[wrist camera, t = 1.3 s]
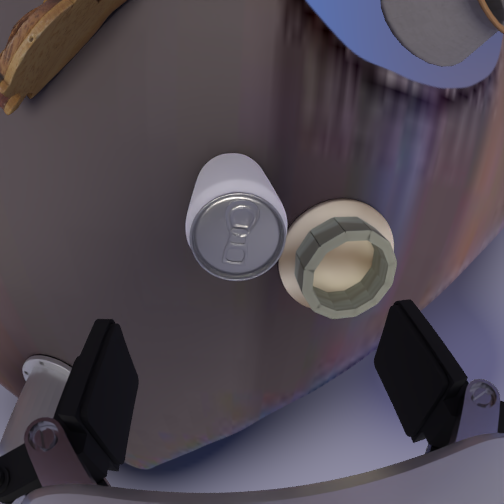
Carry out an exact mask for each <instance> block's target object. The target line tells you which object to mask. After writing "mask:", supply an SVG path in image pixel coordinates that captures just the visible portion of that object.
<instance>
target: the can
mask: <svg viewBox="0 0 504 504" xmlns="http://www.w3.org/2000/svg"><path fill="white" fill-rule="evenodd" d="M185 227H186V237H187V241H188V244H189V246H190V248H191V250H192V253H193V255H194V257H195V259H196V261H197V262H198V263H199V265H200V266H201V267H202V268H203V269H204V270H206V271H207V272H208V273H210V274H212V275H214V276H216V277H218V278H221V279H224V280H230V281H243V280H249V279H252V278H255V277H258V276H260V275H262V274H264V273H265V272H267V271H268V270H269V269H270V268H272V267H273V266H274V265H275V263H276V262H277V261H278V259H279V258H280V256H281V254H282V252H283V250H284V247H285V242H286V235H287V217H286V213H285V209H284V207H283V205H282V203H281V201H280V199H279V197H278V195H277V193H276V192H275V190H274V188H273V187H272V185H271V183H270V182H269V180H268V178H267V177H266V175H265V173H264V172H263V170H262V169H261V167H260V166H259V165H258V164H257V163H256V162H255V161H254V160H253V159H251V158H250V157H248V156H246V155H243V154H239V153H226V154H221V155H218V156H216V157H214V158H212V159H211V160H210V161H208V162H207V163H206V164H205V165H204V167H203V168H202V169H201V171H200V173H199V175H198V178H197V181H196V184H195V187H194V190H193V194H192V197H191V201H190V204H189V208H188V212H187V217H186V225H185Z"/></svg>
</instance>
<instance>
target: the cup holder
mask: <svg viewBox="0 0 504 504" xmlns="http://www.w3.org/2000/svg"><path fill="white" fill-rule="evenodd" d="M393 251H394V242H393V236H392V232H391V229H390V227H389V225H388V223H387V222H386V220H385V219H384V218H383V216H382V215H381V214H380V213H379V212H377V211H376V210H375V209H374V208H372V207H371V206H369V205H368V204H366V203H364V202H361V201H358V200H354V199H346V198H341V199H332V200H328V201H325V202H322V203H319V204H317V205H315V206H313V207H311V208H310V209H308V210H307V211H305V212H304V213H303V214H301V215H300V216H299V217H298V218H297V219H296V220H295V221H294V222H293V223H292V225H291V226H290V227H289V229H288V230H287V235H286V242H285V247H284V250H283V252H282V254H281V256H280V258H279V259H278V268H279V273H280V276H281V279H282V282H283V285H284V287H285V288H286V290H287V292H288V293H289V294H290V295H291V296H292V297H293V298H294V299H295V300H296V301H297V302H299V303H300V304H302V305H304V306H306V307H309V308H311V309H312V310H313V311H314V312H316V313H319V314H321V315H324V316H326V317H329V318H331V319H338V318H347V317H355V316H357V315H359V314H361V313H363V312H364V311H366V310H368V309H370V308H371V307H373V306H375V305H376V303H377V304H378V302H379V301H380V300H381V299H382V297H383V296H384V295H385V293H386V292H387V291H388V290H389V288H390V287H391V286H392V285H391V284H392V283H393V279H394V275H395V270H396V266H397V260H396V257H395V254H394V252H393Z"/></svg>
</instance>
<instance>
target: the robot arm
mask: <svg viewBox="0 0 504 504" xmlns="http://www.w3.org/2000/svg"><path fill="white" fill-rule="evenodd" d="M374 365H375V368H376V370H377V372H378V374H379V376H380V378H381V381H382V383H383V385H384V387H385V389H386V391H387V393H388V396H389V397H390V400H391V402H392V404H393V406H394V409H395V410H396V413H397V415H398V417H399V419H400V422H401V424H402V426H403V428H404V431H405V433H406V435H407V436H409V437H410V436H411V438H412V440H413V443H414V442H417V441H420V440H423V439H425V438H426V439H427V441H428V446H427V449H426V452H425V454H424V455H421V456H418V457H415V458H412V459H409V460H406V461H403V462H400V463H397V464H394V465H390V466H387V467H384V468H380V469H377V470H373V471H369V472H366V473H362V474H358V475H353V476H349V477H345V478H340V479H335V480H331V481H326V482H320V483H315V484H309V485H303V486H296V487H288V488H282V489H272V490H261V491H248V492H231V493H179V492H160V491H147V490H135V489H126V488H118V487H111V486H110V484H109V482H108V481H107V480H106V478H105V477H106V476H107V470H112V471H119V464H123V463H124V460H125V454H126V448H127V442H128V436H129V431H130V425H131V420H132V414H133V409H134V404H135V399H136V394H137V389H138V375H137V373H136V370H135V367H134V365H133V362H132V359H131V357H130V354H129V351H128V348H127V346H126V343H125V340H124V337H123V334H122V331H121V328H120V325H119V324H115V322H114V320H112V319H97V320H96V321H95V323H94V325H93V327H92V329H91V332H90V334H89V336H88V338H87V341H86V343H85V345H84V348H83V350H82V352H81V355H80V356H78V357H77V358H76V360H75V362H74V364H73V367H70V366H69V365H67V364H65V363H63V362H61V361H59V360H57V359H54V358H51V357H48V356H42V355H34V356H31V357H29V358H28V359H27V360H26V361H25V363H24V365H23V368H22V372H23V376H24V378H25V380H26V383H25V385H24V387H23V389H22V392H21V394H20V396H19V398H18V400H17V403H16V405H15V407H14V410H13V412H12V414H11V417H10V419H9V422H8V424H7V426H6V429H5V432H4V434H3V437H2V439H1V442H0V504H504V402H503V401H500V394H499V392H498V390H497V388H496V387H495V386H494V385H493V384H492V383H491V382H489V381H487V380H484V379H475V380H473V381H471V382H470V383H468V381H467V376H466V374H465V373H464V371H463V370H462V368H461V367H460V365H459V364H458V363H457V361H456V360H455V358H454V357H453V355H452V354H451V352H450V351H449V350H448V348H447V347H446V345H445V344H444V343H443V341H442V340H441V338H440V337H439V336H438V334H437V333H436V332H435V330H434V329H433V328H432V326H431V325H430V323H429V322H428V321H427V319H425V317H424V316H423V314H422V313H421V312H420V310H419V309H418V308H417V306H416V305H415V304H414V303H413V301H412V300H401V301H396V302H395V303H394V305H393V306H391V307H390V309H389V313H388V316H387V319H386V323H385V326H384V330H383V333H382V336H381V339H380V342H379V346H378V349H377V352H376V355H375V358H374Z"/></svg>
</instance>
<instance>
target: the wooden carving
mask: <svg viewBox="0 0 504 504" xmlns="http://www.w3.org/2000/svg"><path fill="white" fill-rule="evenodd" d="M126 1H127V0H44V2H43V4H42V5H40V6H39V7H38V8H35V9H34V10H31V11H30V12H28V13H27V14H26V15H24V16H23V17H22V18H21V19H20V20H19V21H18V22H17V23H16V24H15V25H14V27H13V29H12V31H11V34H10V36H9V39H8V42H7V45H6V48H5V49H4V50H3V51H2V52H1V54H0V107H1V108H2V109H3V110H4V112H5V113H6V114H7V115H10V114H12V113H13V112H14V111H15V110H16V109H17V108H18V107H19V105H20V104H21V103H22V101H23V100H24V98H25V97H26V95H27V96H28V97H29V99H32V98H33V97H34V96H35V95H36V94H37V93H38V92H39V91H40V90H41V89H42V88H43V87H44V86H45V85H46V84H47V83H48V82H49V81H50V80H51V79H52V78H53V77H54V76H55V75H56V74H57V73H58V72H59V71H60V70H61V69H62V68H63V67H64V66H65V65H66V64H67V63H68V62H69V61H70V60H71V59H72V58H73V57H74V56H75V55H76V54H77V53H78V52H79V51H80V49H81V48H82V47H83V46H84V45H85V44H86V43H87V42H88V41H89V40H90V39H91V37H92V36H93V35H94V34H95V33H96V32H97V30H98V29H99V28H100V27H101V25H102V24H103V23H104V21H105V20H106V18H107V17H108V16H109V15H110V14H111V13H112V12H113V11H114V10H115V9H117V8H118V7H119V6H121V5H122V4H123V3H125V2H126Z"/></svg>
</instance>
